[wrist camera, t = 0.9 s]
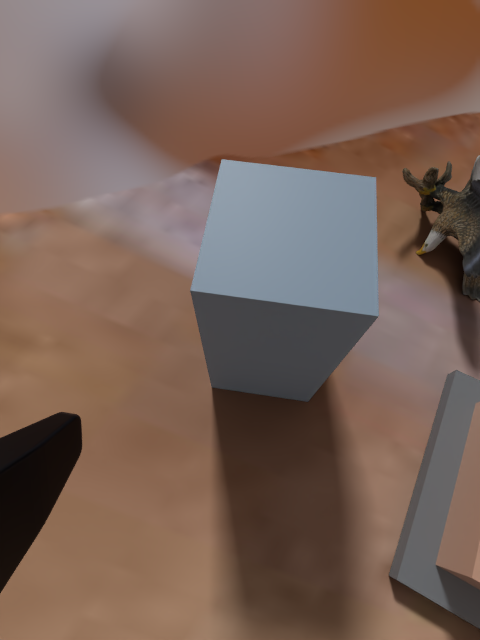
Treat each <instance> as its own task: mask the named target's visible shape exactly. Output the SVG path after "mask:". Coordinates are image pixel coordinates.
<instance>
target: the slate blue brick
mask: <svg viewBox="0 0 480 640" xmlns="http://www.w3.org/2000/svg"><path fill="white" fill-rule="evenodd" d="M190 291H191V296H192V300H193V305H194V309H195V314H196V318H197V323H198V327H199V332H200V336H201V341H202V345H203V350H204V354H205V359H206V363H207V368H208V372H209V377H210V382H211V386H212V387H213V388H219V389H226V390H233V391H239V392H246V393H253V394H259V395H266V396H273V397H279V398H286V399H293V400H299V401H306V402H308V401H309V400H310V399H311V398H312V396H313V395H314V394H315V393H316V391H317V390H318V389H319V388H320V387H321V385H322V384H323V383H324V382H325V381H326V379H327V378H328V377H329V376H330V375H331V373H332V372H333V371H334V370H335V368H336V367H337V366H338V365H339V364H340V362H341V361H342V360H343V359H344V358H345V356H346V355H347V354H348V353H349V352H350V350H351V349H352V348H353V347H354V345H355V344H356V343H357V342H358V341H359V339H360V338H361V337H362V336H363V335H364V333H365V332H366V331H367V330H368V329H369V327H370V326H371V325H372V324H373V322H374V321H375V320H376V319H377V318H378V316H379V308H378V257H377V207H376V177H368V176H359V175H350V174H342V173H333V172H325V171H316V170H308V169H299V168H291V167H282V166H274V165H265V164H257V163H248V162H240V161H231V160H223V159H222V161H221V165H220V169H219V173H218V177H217V182H216V186H215V190H214V194H213V198H212V202H211V207H210V211H209V215H208V219H207V223H206V227H205V232H204V236H203V240H202V244H201V248H200V253H199V257H198V261H197V265H196V269H195V273H194V278H193V282H192V286H191V290H190Z"/></svg>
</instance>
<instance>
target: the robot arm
mask: <svg viewBox="0 0 480 640" xmlns="http://www.w3.org/2000/svg"><path fill="white" fill-rule="evenodd" d="M81 450H82V429H81V418H80V416H78V415H77V414H72V413H66V412H59V413H57V414H54V415H52V416H50V417H47V418H45V419H43V420H41V421H38V422H36V423H34V424H31V425H29V426H27V427H25V428H22V429H20V430H18V431H15V432H13V433H11V434H9V435H6V436H4V437H2V438H0V593H1V591H2V590H3V588H4V587H5V585H6V584H7V582H8V580H9V579H10V577H11V576H12V574H13V573H14V571H15V570H16V568H17V566H18V565H19V563H20V562H21V560H22V559H23V557H24V556H25V554H26V552H27V551H28V549H29V548H30V546H31V545H32V543H33V542H34V540H35V538H36V537H37V535H38V534H39V532H40V530H41V529H42V527H43V525H44V524H45V522H46V520H47V518H48V516H49V515H50V513H51V511H52V509H53V507H54V505H55V503H56V501H57V499H58V497H59V495H60V493H61V491H62V489H63V487H64V486H65V484H66V482H67V480H68V478H69V476H70V474H71V472H72V470H73V468H74V466H75V464H76V462H77V460H78V458H79V456H80V453H81Z"/></svg>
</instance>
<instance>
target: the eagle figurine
mask: <svg viewBox="0 0 480 640" xmlns="http://www.w3.org/2000/svg"><path fill="white" fill-rule="evenodd" d="M451 171H452V164H451V163H450V161H449V162H448V163H447V167H446V171H445V173H444V174H443V175H442V176H441V177H440V178H439V179H438V180H437V176H438V168H435V167H432V168H430V169H429V170H428V171H427V172H426V173H425V175H424V178H423V179H422V180H419V179H417V178H416V177H414V176H413V175H412V174H411V173H410V171H409V170H408V169H407V168H404V169H403V177H404V180H405V182H406V183H407V184H408V185H410V186H412V187H414V188H415V189H416V190H417V191H418V192H419V195H420V197H421V198H422V200H421V203H420V205H421V210H422V211H423V212H425V211H431V210H432V211H435V212H438V213H439V214H440V215H439V216H438V218H437V220H436V222H435V223H434V225H433V227H432V229H431V231H430V233H429V236H428V238H427V239H426V241H425V243H424V244H423V246H422V248H421V249H420V250H419V251H417V252H416V254H417V255H421V254H423V253H426V252H430V251H432V250H433V249H435V248H436V247H437V246H438V245H439V244H440V243H441V242H442V241H443V240H444V239H445V238H446V237H447V236H453V237H455V238H456V239H457V240H458V241H459V251H460V253H461V254H462V255H463V269H464V276H463V285H462V288H463V294H464V295H468V296H469V297H470V298H471V299H472V300H473V299H476V298H477V300H478V301H479V302H480V156H478V157H477V159H476V161H475V164H474V167H473V170H472V174H471V178H470V180H469V181H468V183H467V185H466V186H465V188H464V189H463V190H462V192H457V191H454V190H452V189H449V188H446V187H444V185H445V183H446V182H447V181H449V180H450V179H451V178H452V176H451ZM433 198H435V199H438V200H440V201H436V202H435V201H434V199H433Z"/></svg>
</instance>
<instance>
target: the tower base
mask: <svg viewBox="0 0 480 640" xmlns="http://www.w3.org/2000/svg"><path fill="white" fill-rule="evenodd" d="M389 576H391V577H392V578H394V579H396V580H397V581H399V582H401V583H402V584H404V585H406V586H407V587H409V588H411V589H413V590H414V591H416V592H418V593H419V594H421V595H423V596H424V597H426V598H428V599H429V600H431V601H433V602H435V603H436V604H438V605H440V606H441V607H443V608H445V609H446V610H448V611H450V612H451V613H453V614H455V615H457V616H458V617H460V618H462V619H463V620H465V621H467V622H468V623H470V624H472V625H473V626H475V627H477V628H479V629H480V381H479V380H477V379H475V378H473V377H471V376H469V375H466V374H464V373H462V372H460V371H458V370H455V371H453V372H452V373H450V374H448V375H447V379H446V382H445V385H444V389H443V392H442V396H441V399H440V402H439V406H438V409H437V413H436V416H435V419H434V423H433V426H432V430H431V433H430V437H429V440H428V443H427V447H426V450H425V454H424V457H423V460H422V464H421V467H420V471H419V474H418V477H417V481H416V484H415V488H414V491H413V495H412V498H411V501H410V505H409V508H408V512H407V515H406V518H405V522H404V525H403V529H402V532H401V535H400V539H399V542H398V546H397V549H396V553H395V556H394V559H393V563H392V566H391V570H390V573H389Z"/></svg>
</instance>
